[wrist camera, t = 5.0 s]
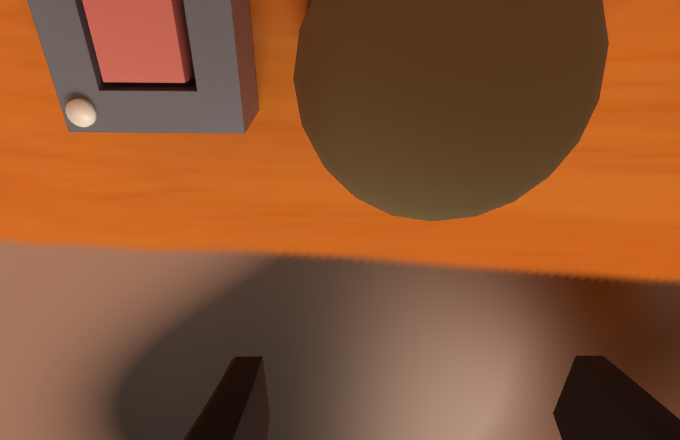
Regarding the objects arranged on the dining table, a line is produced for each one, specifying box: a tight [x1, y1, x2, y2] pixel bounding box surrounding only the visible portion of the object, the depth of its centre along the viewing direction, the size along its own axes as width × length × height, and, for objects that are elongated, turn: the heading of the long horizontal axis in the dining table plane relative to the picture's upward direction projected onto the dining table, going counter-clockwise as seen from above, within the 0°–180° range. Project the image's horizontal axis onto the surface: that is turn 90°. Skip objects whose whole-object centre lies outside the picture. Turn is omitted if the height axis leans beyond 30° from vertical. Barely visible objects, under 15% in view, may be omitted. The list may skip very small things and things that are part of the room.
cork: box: [294, 0, 609, 221], centre depth 11 cm, size 6×6×11 cm
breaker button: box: [82, 0, 195, 83], centre depth 14 cm, size 3×3×2 cm
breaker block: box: [27, 0, 259, 133], centre depth 14 cm, size 6×6×3 cm
